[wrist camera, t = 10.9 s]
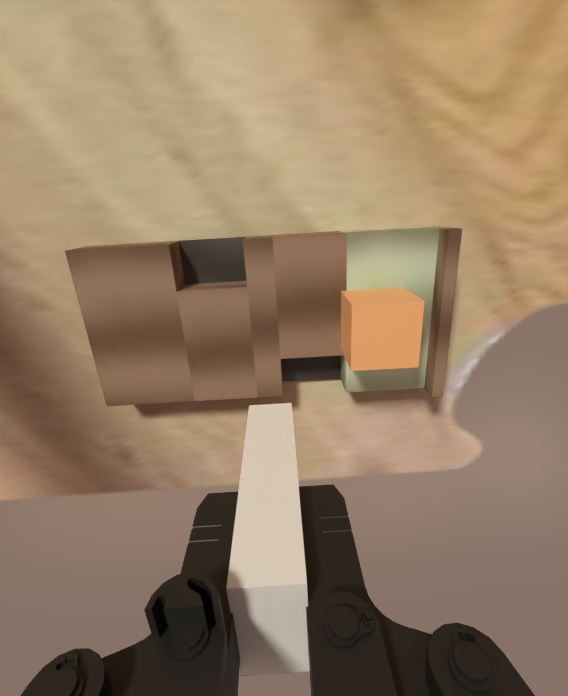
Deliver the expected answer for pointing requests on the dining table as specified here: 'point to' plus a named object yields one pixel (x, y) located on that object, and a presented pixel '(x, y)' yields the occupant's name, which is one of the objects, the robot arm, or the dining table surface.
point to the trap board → (255, 311)
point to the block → (381, 328)
